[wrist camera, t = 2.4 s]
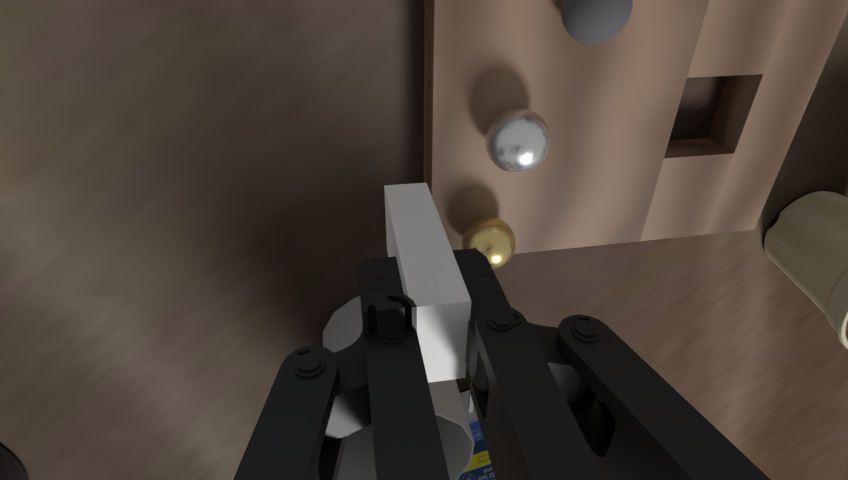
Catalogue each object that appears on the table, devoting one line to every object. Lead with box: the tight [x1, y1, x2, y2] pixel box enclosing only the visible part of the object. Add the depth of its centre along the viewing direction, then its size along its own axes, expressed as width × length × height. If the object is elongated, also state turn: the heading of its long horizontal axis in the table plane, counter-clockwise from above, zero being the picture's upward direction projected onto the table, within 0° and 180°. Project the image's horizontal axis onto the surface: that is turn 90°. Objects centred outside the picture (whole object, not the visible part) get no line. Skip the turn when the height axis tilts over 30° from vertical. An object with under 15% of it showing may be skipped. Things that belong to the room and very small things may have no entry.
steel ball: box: [485, 108, 551, 174], centre depth 25 cm, size 3×3×3 cm
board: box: [424, 0, 848, 254], centre depth 28 cm, size 22×16×2 cm
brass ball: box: [462, 216, 516, 269], centre depth 28 cm, size 3×3×3 cm
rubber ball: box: [561, 0, 633, 44], centre depth 22 cm, size 3×3×3 cm
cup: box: [323, 296, 475, 480], centre depth 31 cm, size 8×8×10 cm
